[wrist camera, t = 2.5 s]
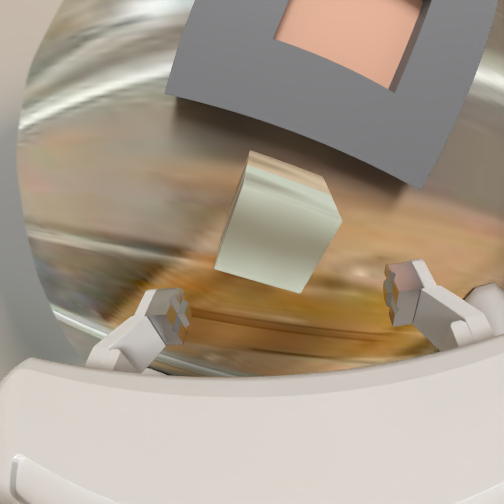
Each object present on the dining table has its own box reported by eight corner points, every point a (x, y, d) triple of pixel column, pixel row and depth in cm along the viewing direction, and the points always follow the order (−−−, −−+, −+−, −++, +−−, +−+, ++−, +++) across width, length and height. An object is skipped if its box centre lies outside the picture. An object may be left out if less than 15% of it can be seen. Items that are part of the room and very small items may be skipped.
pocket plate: (405, 176, 18) (420, 190, 16) (176, 90, 15) (164, 93, 14) (478, 0, 9) (498, -2, 7) (261, -105, 6) (260, -121, 5)
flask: (509, 283, 23) (549, 349, 15) (479, 326, 27) (508, 391, 19) (472, 278, 23) (517, 356, 15) (440, 327, 27) (469, 402, 19)
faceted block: (293, 236, 21) (300, 293, 16) (227, 215, 21) (214, 269, 16) (322, 176, 19) (342, 221, 14) (250, 149, 18) (242, 186, 13)
